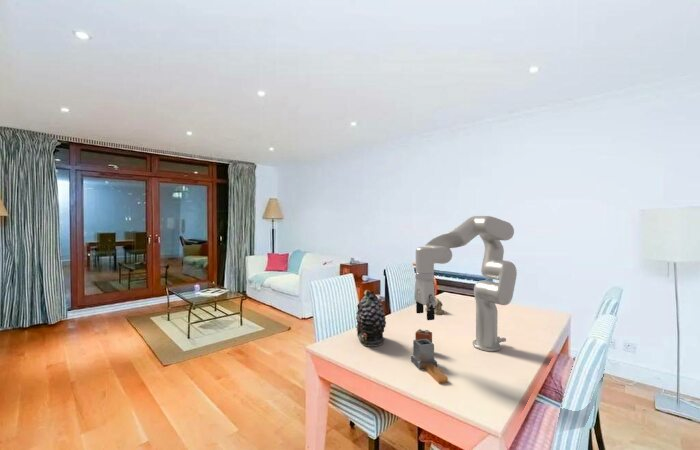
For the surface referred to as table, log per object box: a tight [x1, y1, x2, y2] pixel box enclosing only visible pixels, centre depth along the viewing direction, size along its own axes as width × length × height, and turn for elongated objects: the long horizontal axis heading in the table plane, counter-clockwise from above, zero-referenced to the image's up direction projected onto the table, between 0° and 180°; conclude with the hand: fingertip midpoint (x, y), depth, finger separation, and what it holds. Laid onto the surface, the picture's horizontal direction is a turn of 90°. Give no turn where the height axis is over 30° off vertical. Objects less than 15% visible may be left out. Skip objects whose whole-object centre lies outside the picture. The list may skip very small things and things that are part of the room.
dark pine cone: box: [355, 289, 387, 347], centre depth 163 cm, size 21×15×25 cm
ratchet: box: [410, 355, 449, 385], centre depth 130 cm, size 20×8×8 cm, turn 14°
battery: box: [414, 328, 433, 343], centre depth 149 cm, size 4×7×10 cm, turn 59°
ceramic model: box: [424, 296, 445, 316], centre depth 213 cm, size 14×11×10 cm
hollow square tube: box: [412, 339, 435, 363], centre depth 136 cm, size 6×6×7 cm
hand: (425, 316), depth 136 cm, fingers open, 9 cm apart
